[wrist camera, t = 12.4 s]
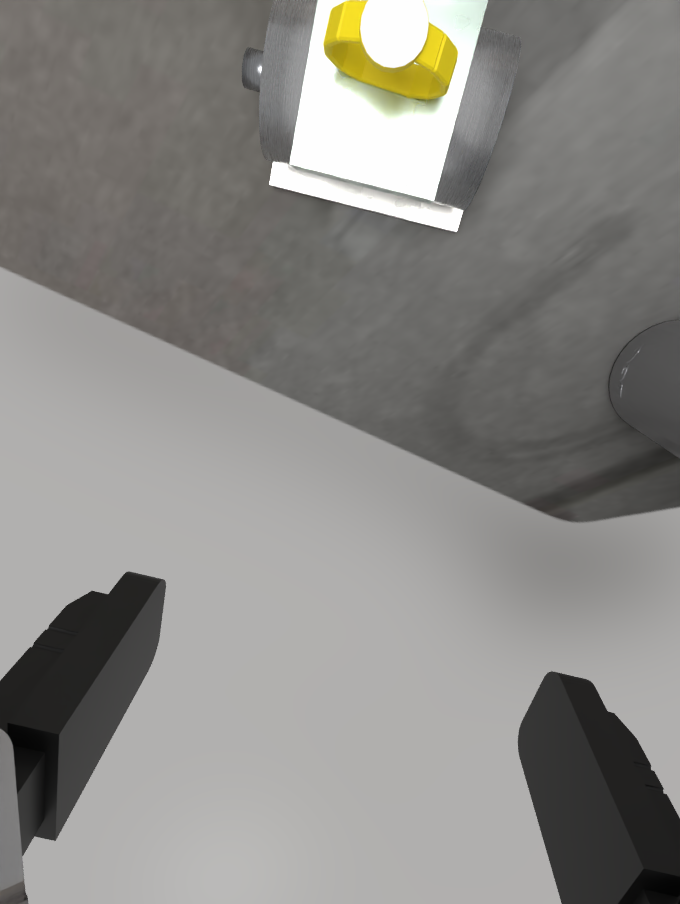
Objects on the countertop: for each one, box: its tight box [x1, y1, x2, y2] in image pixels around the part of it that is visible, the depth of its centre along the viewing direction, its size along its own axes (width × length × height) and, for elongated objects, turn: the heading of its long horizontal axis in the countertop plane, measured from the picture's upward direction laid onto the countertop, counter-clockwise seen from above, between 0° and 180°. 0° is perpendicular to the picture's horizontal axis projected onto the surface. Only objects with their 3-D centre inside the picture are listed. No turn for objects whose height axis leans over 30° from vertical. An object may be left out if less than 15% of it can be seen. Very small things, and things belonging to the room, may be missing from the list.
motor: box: [242, 0, 521, 233], centre depth 30 cm, size 16×11×13 cm
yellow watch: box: [323, 0, 458, 100], centre depth 23 cm, size 6×3×6 cm, turn 74°
